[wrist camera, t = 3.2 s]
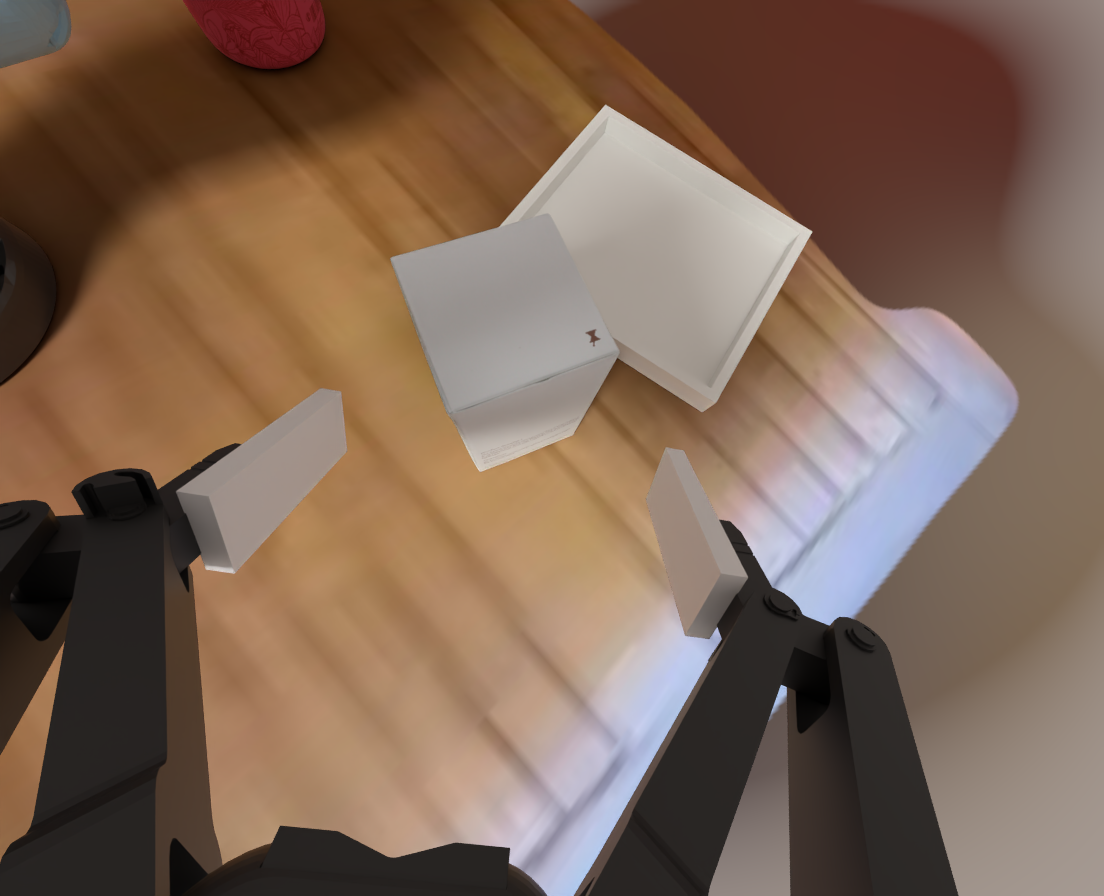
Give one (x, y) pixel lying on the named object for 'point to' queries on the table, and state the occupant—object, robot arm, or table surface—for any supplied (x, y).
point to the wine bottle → (262, 29)
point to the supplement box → (508, 336)
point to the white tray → (666, 252)
